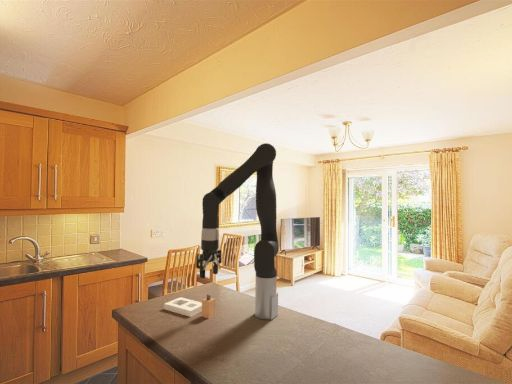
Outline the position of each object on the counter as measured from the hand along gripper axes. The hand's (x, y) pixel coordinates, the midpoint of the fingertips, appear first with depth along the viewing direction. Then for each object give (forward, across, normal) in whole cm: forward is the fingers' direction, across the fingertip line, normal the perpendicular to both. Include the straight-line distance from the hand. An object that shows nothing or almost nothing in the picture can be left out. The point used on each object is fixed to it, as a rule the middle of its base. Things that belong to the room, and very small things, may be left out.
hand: (209, 276), depth 121 cm
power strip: (+17, 0, +13) cm, 22 cm away
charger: (+17, 0, 0) cm, 17 cm away
